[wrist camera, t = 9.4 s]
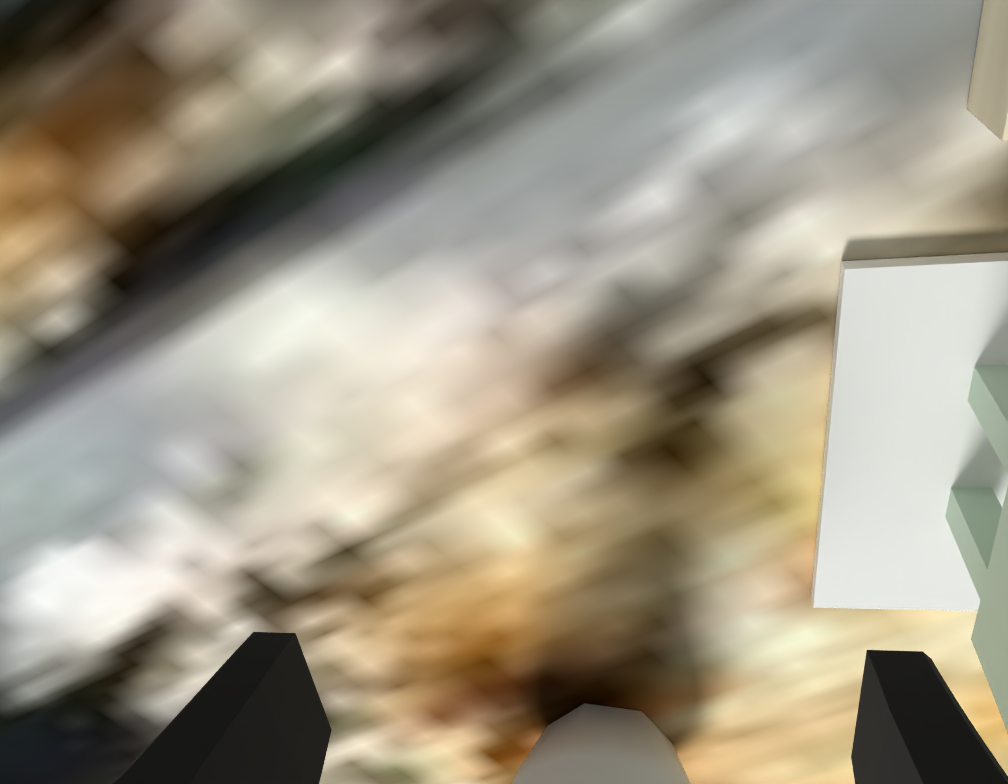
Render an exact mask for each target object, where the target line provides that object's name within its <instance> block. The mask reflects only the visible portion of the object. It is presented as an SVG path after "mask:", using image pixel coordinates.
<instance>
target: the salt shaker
mask: <svg viewBox="0 0 1008 784" xmlns="http://www.w3.org/2000/svg"><path fill="white" fill-rule="evenodd" d="M513 784H691V783H690V781H689V779H688V777H687V775H686V772H685V770H684V768H683V766H682V764H681V762H680V759H679V757H678V755H677V753H676V751H675V748H674V746H673V744H672V742H671V741H670V740H669V739H668V738H667V737H666V736H665V735H664V734H663V733H662V732H661V731H660V730H659V729H658V728H657V727H656V726H655V725H654V724H653V723H652V721H651V720H650V719H649V718H648V717H647V716H646V715H645V714H644V713H643V712H642V711H637V710H630V709H623V708H615V707H608V706H600V705H593V704H586V703H584V704H583V705H581V706H579V707H578V708H576V709H574V710H573V711H571V712H569V713H568V714H566V715H565V716H563V717H561V718H560V719H558V720H556V721H555V722H553V723H551V724H550V725H548V726H547V727H546V729H545V730H544V732H543V733H542V735H541V736H540V738H539V739H538V741H537V742H536V744H535V745H534V747H533V748H532V750H531V751H530V753H529V754H528V756H527V757H526V759H525V760H524V762H523V763H522V765H521V766H520V768H519V769H518V771H517V772H516V775H515V778H514V781H513Z"/></svg>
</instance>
